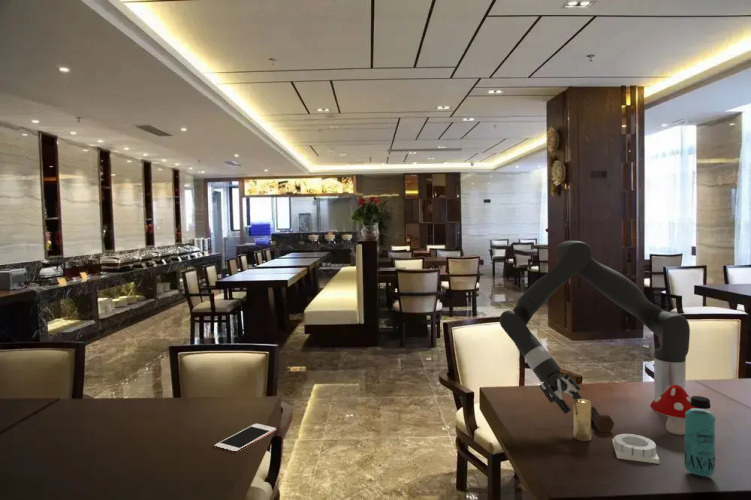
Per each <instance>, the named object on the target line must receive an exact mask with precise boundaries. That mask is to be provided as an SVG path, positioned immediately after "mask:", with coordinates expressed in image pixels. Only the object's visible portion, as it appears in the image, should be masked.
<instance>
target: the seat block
mask: <svg viewBox="0 0 751 500" xmlns="http://www.w3.org/2000/svg"><path fill="white" fill-rule="evenodd" d="M611 440H612V445H613V448H614V452H615V456H616V458H617V459H618V460H619V459H622V460H627V461H636V462H644V463H651V464H658V465H659V464H660V458H659V456H658V453H657V445H656V443H655V442H654V440H652V439H650V438H648V437H646V436H642V435H639V434H634V433H619V434H617V435H615V436H614V437H613V438H612V439H611Z"/></svg>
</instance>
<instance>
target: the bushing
mask: <svg viewBox="0 0 751 500" xmlns="http://www.w3.org/2000/svg"><path fill="white" fill-rule="evenodd" d="M591 405H592V402H591V401H590V400H588V399H586V398H583V399H575V400H574V399H573V438H574V439H575V440H578V441H580V442H589V441H592V420H591Z"/></svg>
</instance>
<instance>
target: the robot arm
mask: <svg viewBox="0 0 751 500" xmlns="http://www.w3.org/2000/svg"><path fill="white" fill-rule="evenodd" d="M555 256H556V259H557V261H558V262H557V263H556V265H555V266H554V267H552V268H551V270H550V271H549V272H547V273H546V274H544V275H543V276H541V277H540V278H539V279H538V280H536V281H535V282H533V283H532V284H531V285H530V286H529V287H528V288H527V289H526V290H525V291H524V292H523V294H522V295H521V296H520V297H519V298H518V300H517V303H516V305H515V307H514V308H513V309H512V310H504V311H503V312H501V314H500V316H499V325H500V327H501V328H502V330H503V331H504V332H505V333H506V335H508V337H509V338H510V339H511V341H512V342H513V343H514V344H515V347H516V349H517V350H518V351H519V353H520V354H521V355H522V356H523V358H524V360H525V361H526V363H527V365H528V367H529V368H530V369H531V370H532V372H533V373H534V374H535V376H536V378H537V379H538V380H539V381H540V383H541V384H540V385H539V388H540V389H541V392H543V394H544V396H545V397H546V399H547V400H548V401H549V402H550V403H551V404H553V403H555V404H557V406H558V407H559V408H560V410H561V411H562V412H563V414H565V415H567V414H569V413H570V412H571V411H572V410H571V408H570V407H569V405H568V403H567V402H566V401H565V400H564V398H563V395H562V393H564V394H568V395H570V396H571V397H572V399H573V401H574V400H575V399H584V398H583V397H582V396H581V395H580V393H579V391H580V390H581V387H580V386H579V384H578V383H577V381H575V380H574V378H573V377H572V376H571V375H570V374H569V373H568V372H567V373H566V374H564V375H563V374H562V373H561V370H562V369H561V367H560V365H559V364H558V363H557V361H556V360H555V359H554V358H553V356H552V355H551V354H550V353H549V351H548V350H547V349H546V348H545V347H544V346H543V345H542V343H541V342H540V341H539V340H538V338H537V337H536V336H535V335H534V334H533V333H532V332H531V330H530V329H529V327H528V326H527V325H528V323H529V322H530V321H531V319H532V317H533V316H534V314H536V313H537V311H538V310H539V309H540V308H541V307H542V306H543V305H544V304H545V303H546V302H547V301H548V300H549V298H551V297H552V296H553V294H554V293H555V292H556V291H557V290H559V288H560V287H562V286H563V285H564V284H565V283H566V282H567V281H568V280H570V279H571V278H572V277H573V276H574V275H576V274H577V275H578V276H581V278H583V279H585V280H586V282H588V283H589V284H590V285H591V286H593V287H594V288H596V290H598V291H599V292H600V293H601V294H602V295H603V296H605V297H607V298H608V299H609V300H610V301H611V302H613V303H614V304H616V305H617V306H618V307H620V308H622V309H623V310H624V311H626V312H628V313H629V314H631V315H632V316H634V317H635V318H636V319H638V320H639V321H640V322H641V323H642V324H644V326H645V327H646V328H648V329H649V331H651V332H652V333H653V334H654V335H656V336H657V337H659V338H661V339H662V340H661V346H660V347H658V348H655V349H654V353H653V358H654V359H653V364H654V365H653V366H654V368H653V371H654V373H653V374H654V378H653V380H654V381H653V387H654V388H653V391H654V392H653V401H654V400H655V399H656V398H658V397H659V396H660V395H662V394H663V393H664V392H665V391H666V389H667V387H669V386H671V385H679V386H681V387H682V388H683V389H684V390H685V392H686V393H687V390H686V389H687V387H686V385H687V384H686V383H687V381H686V379H687V378H686V377H687V375H686V370H687V369H686V368H687V365H686V362H687V355H688V354H689V349H690V335H691V334H690V333H691V329H690V322H689V321H688V319H687V318H686V317H685V316H683V315H680V314H677V313H674V312H669V311H666V310H664V309H662V308H660V307H659V306H657V305H655V304H654V303H653V302H651V301H650V300H649V299H648V298H647V297H646V295H645V294H644V292H643V291H642V289H641V287H639V286H638V285H637V284H636V283H634V282H633V281H632V280H630V279H629V278H628V277H627V276H625V275H624V274H622V273H620V272H619V271H617V270H615V269H613V268H610V267H608V265H607V266H606V265H605V264H602V263H600V262H599V261H598V260H595V258H593V251H592V248H591V247H590V245H589V244H588V243H587V242H584V241H580V240H565V241H562V242H561V243H559V244H558V245H557V247H556V250H555Z"/></svg>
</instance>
